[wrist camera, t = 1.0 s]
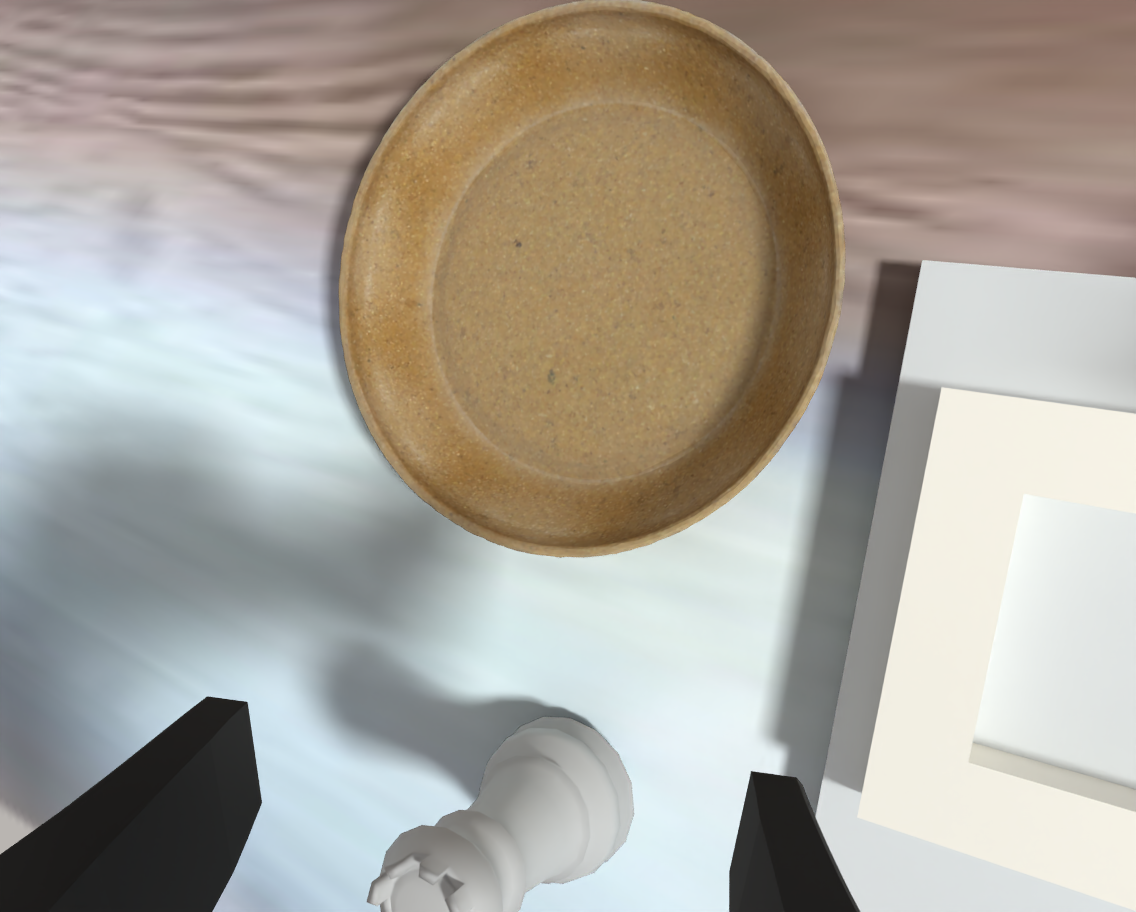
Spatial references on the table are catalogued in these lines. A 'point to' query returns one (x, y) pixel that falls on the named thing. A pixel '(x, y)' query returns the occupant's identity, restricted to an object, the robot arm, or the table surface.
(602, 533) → the plant saucer
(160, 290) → the table surface
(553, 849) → the rook chess piece
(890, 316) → the table surface
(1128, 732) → the holder stand
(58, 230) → the table surface
